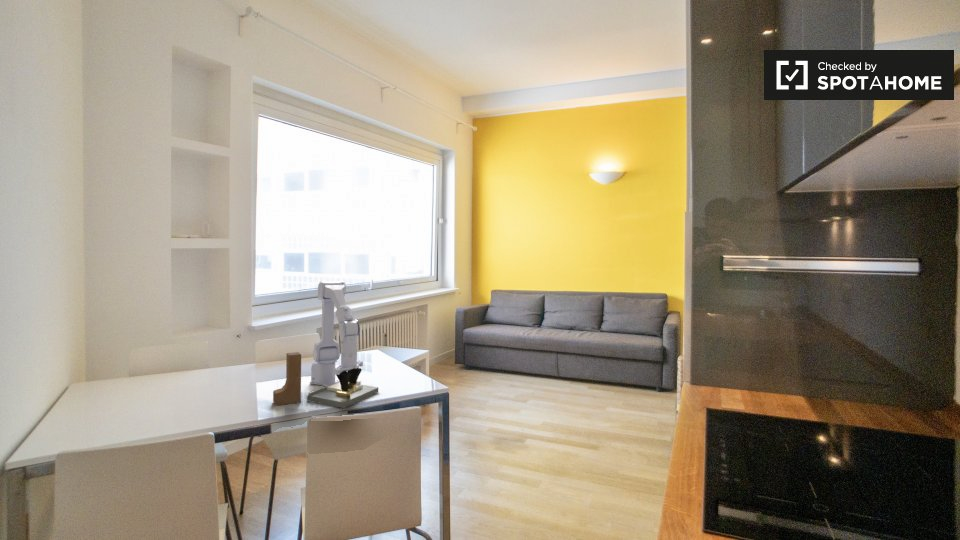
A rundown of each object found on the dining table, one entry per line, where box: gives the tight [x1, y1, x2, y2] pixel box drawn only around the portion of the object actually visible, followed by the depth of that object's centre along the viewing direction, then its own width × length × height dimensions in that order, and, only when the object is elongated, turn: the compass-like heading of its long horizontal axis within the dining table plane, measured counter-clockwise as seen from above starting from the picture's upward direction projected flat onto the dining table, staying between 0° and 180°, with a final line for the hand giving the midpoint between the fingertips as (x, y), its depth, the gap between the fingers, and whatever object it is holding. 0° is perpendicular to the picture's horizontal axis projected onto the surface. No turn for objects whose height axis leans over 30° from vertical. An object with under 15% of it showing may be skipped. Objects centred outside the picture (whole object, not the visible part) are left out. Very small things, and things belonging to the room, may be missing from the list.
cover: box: [327, 380, 364, 393], centre depth 196 cm, size 10×9×2 cm
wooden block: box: [272, 351, 302, 406], centre depth 184 cm, size 9×4×18 cm, turn 121°
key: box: [335, 383, 356, 398], centre depth 187 cm, size 8×1×5 cm, turn 67°
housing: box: [306, 381, 379, 409], centre depth 193 cm, size 17×21×3 cm
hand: (348, 389), depth 186 cm, fingers open, 4 cm apart
